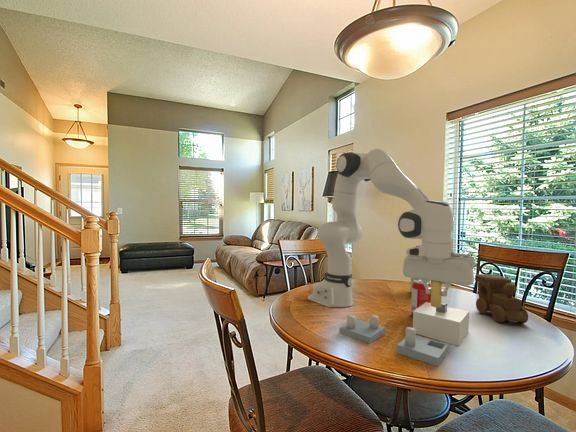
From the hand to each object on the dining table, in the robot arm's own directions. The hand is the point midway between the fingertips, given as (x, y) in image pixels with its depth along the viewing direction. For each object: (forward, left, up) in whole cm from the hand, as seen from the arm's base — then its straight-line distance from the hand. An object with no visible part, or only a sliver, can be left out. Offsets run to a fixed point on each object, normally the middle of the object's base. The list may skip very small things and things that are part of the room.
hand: (436, 294), depth 95 cm
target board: (-3, -3, -18) cm, 19 cm away
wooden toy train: (+11, +53, -19) cm, 58 cm away
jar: (-26, +67, -19) cm, 74 cm away
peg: (0, 0, -4) cm, 4 cm away
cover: (-3, +18, -18) cm, 26 cm away
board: (-24, -3, -18) cm, 30 cm away
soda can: (-14, +30, -19) cm, 38 cm away
